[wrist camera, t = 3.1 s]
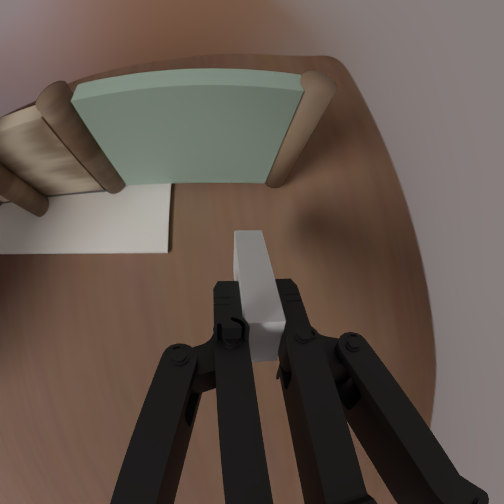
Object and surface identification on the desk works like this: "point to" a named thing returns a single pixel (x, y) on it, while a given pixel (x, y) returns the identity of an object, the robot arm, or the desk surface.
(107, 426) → the desk surface
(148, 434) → the robot arm
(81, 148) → the fence fixed
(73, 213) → the card
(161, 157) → the fence gate
